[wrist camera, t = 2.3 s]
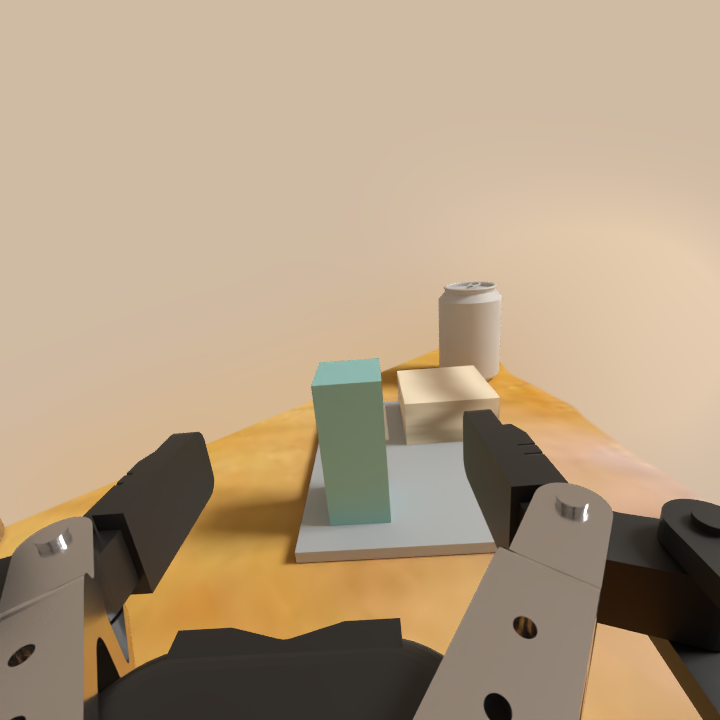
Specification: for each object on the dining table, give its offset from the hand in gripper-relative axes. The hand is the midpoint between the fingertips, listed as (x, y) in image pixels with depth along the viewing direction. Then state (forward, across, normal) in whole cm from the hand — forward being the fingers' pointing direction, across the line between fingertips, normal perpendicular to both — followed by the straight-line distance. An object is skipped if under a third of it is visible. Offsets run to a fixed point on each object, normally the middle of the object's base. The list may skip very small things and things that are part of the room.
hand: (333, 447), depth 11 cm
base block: (+22, -8, +12) cm, 26 cm away
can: (+36, -14, +12) cm, 40 cm away
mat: (+18, -4, +12) cm, 22 cm away
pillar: (+12, 0, +12) cm, 16 cm away
